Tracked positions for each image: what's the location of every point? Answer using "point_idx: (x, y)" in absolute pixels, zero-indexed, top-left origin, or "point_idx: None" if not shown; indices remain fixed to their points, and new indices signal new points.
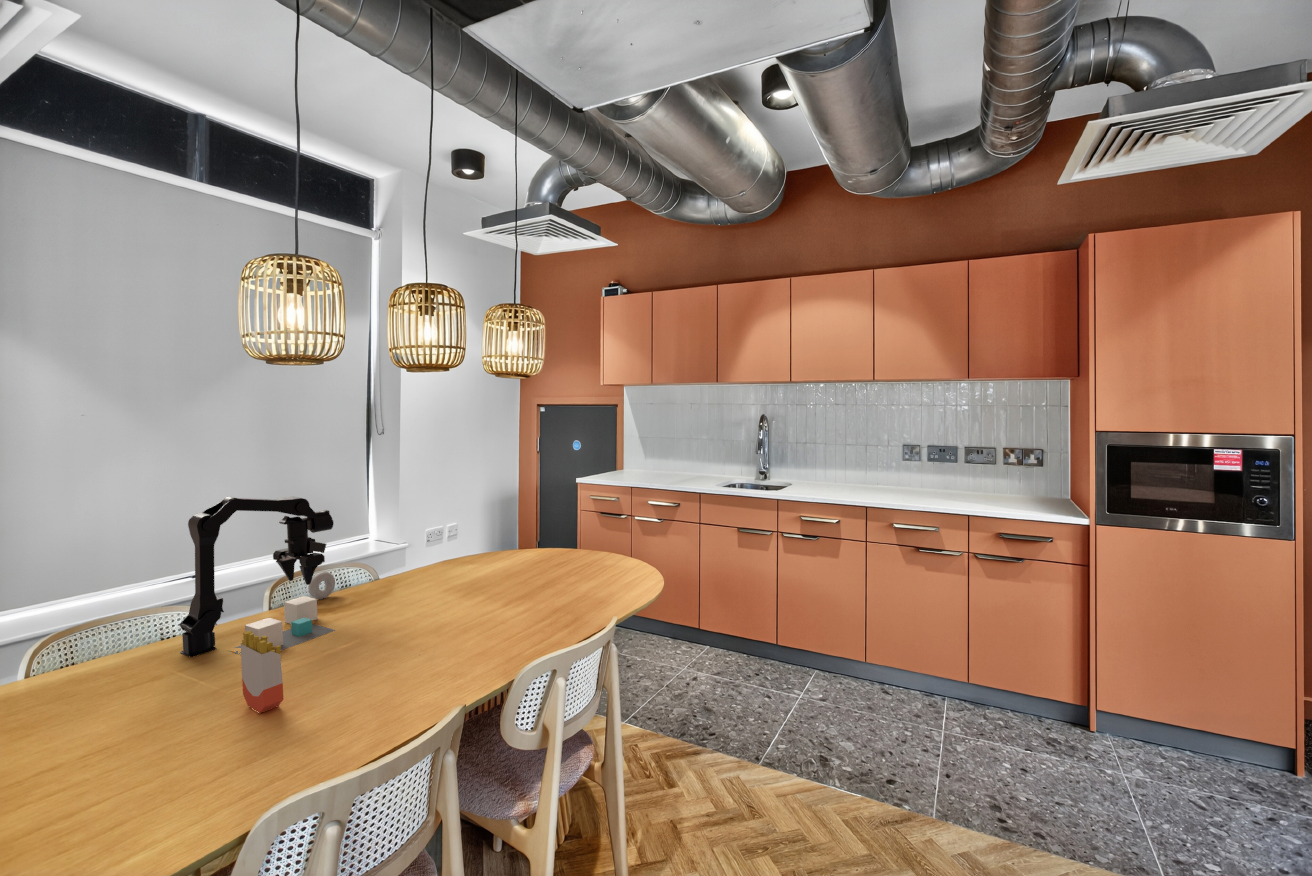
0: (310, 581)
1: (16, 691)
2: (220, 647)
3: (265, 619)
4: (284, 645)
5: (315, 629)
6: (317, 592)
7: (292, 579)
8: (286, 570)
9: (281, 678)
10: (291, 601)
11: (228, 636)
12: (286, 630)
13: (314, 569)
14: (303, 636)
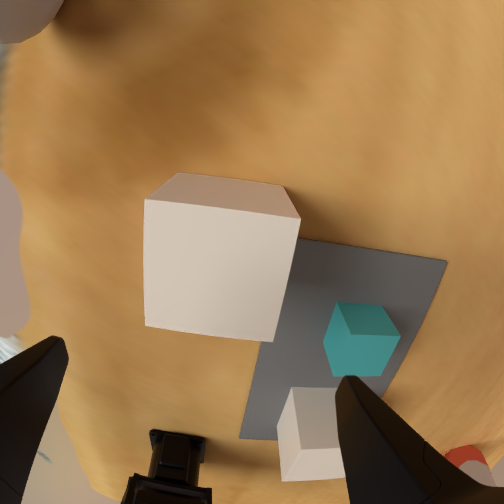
0: (368, 393)
1: (119, 500)
2: (197, 429)
3: (304, 456)
4: None
5: (375, 283)
6: (43, 13)
7: (61, 346)
8: (26, 454)
9: (489, 470)
10: (178, 309)
11: (131, 389)
12: None
13: (463, 482)
14: None
